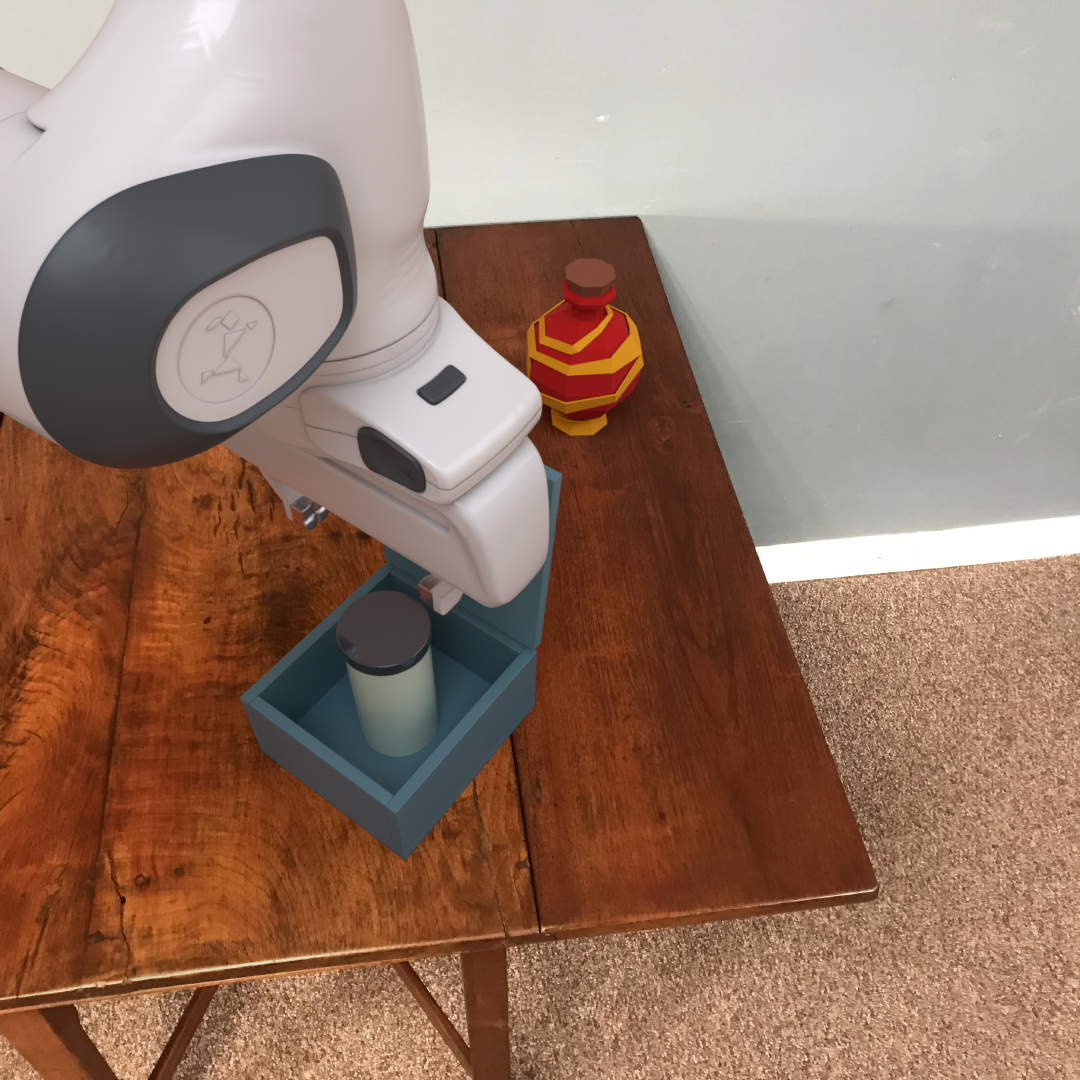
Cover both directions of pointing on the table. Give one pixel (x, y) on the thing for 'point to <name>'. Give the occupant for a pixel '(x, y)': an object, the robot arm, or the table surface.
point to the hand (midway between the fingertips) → (373, 558)
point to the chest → (335, 734)
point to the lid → (528, 606)
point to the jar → (390, 670)
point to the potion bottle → (584, 350)
